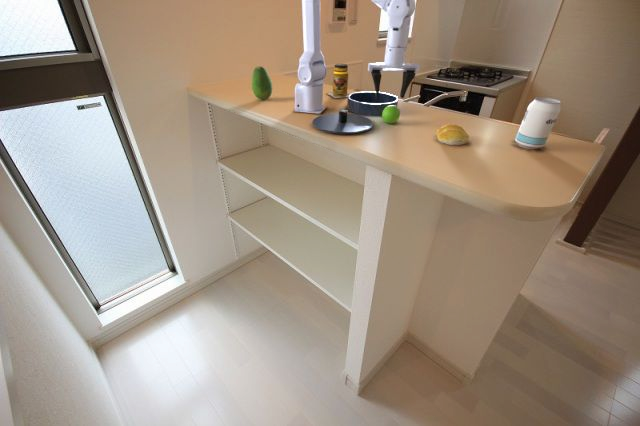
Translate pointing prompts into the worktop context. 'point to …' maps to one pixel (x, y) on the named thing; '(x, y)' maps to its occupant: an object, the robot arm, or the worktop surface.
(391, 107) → the lime
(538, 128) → the beverage can
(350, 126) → the lid
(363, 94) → the pot
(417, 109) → the worktop surface
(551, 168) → the worktop surface
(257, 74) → the fruit
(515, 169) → the worktop surface
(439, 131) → the bread roll
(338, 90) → the condiment
